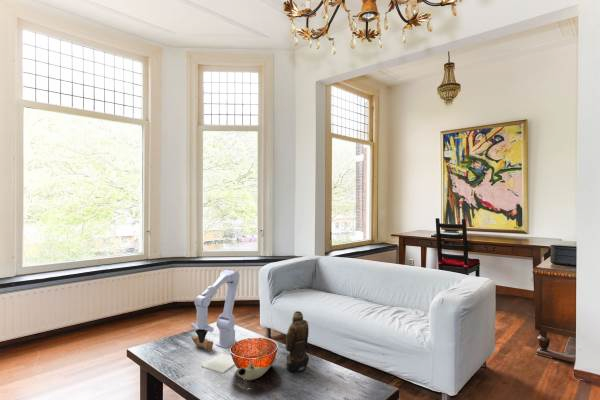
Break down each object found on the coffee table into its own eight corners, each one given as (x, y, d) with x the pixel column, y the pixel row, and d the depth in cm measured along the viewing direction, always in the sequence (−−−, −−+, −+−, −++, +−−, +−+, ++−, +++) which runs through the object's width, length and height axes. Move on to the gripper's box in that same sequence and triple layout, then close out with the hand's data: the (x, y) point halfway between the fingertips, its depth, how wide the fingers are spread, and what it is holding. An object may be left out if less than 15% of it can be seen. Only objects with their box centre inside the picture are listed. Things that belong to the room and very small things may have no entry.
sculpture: (299, 362, 188) (297, 306, 189) (313, 370, 178) (311, 311, 179) (279, 368, 180) (278, 310, 182) (293, 377, 170) (291, 315, 172)
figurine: (213, 351, 197) (196, 353, 205) (216, 336, 202) (200, 339, 210) (201, 347, 192) (185, 349, 200) (205, 332, 197) (189, 335, 205)
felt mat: (221, 354, 194) (221, 353, 194) (241, 359, 188) (241, 358, 188) (201, 366, 180) (201, 365, 180) (222, 373, 173) (222, 372, 173)
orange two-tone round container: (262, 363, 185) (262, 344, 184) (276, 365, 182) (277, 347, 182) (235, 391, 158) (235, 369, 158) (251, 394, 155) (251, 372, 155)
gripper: (186, 317, 188) (186, 342, 188) (207, 322, 181) (207, 348, 182) (196, 313, 194) (195, 337, 194) (216, 318, 188) (215, 342, 188)
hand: (201, 342), depth 189 cm, fingers closed
